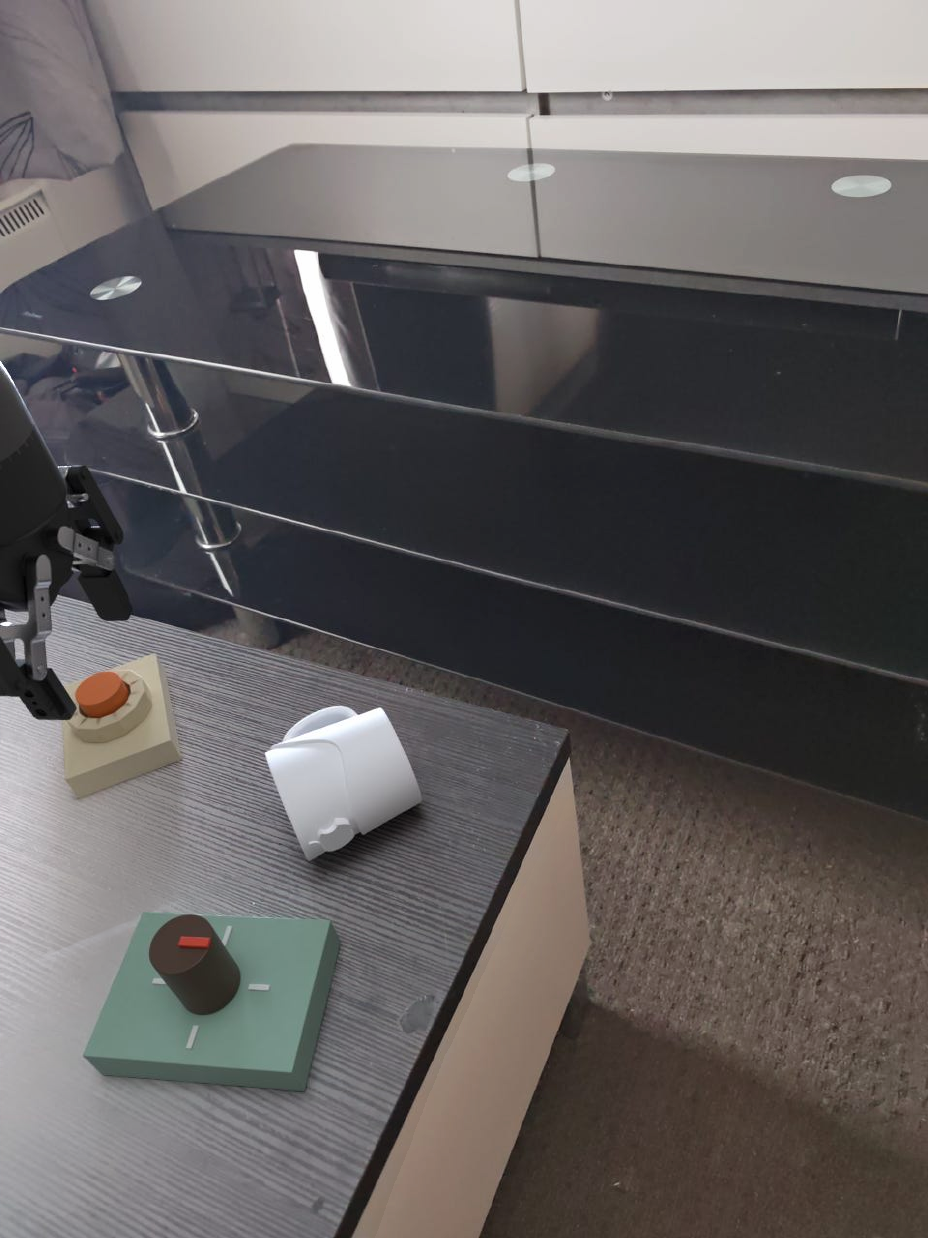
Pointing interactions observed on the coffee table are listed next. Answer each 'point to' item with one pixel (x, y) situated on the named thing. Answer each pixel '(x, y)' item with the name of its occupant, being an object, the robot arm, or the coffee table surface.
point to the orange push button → (101, 694)
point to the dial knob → (194, 964)
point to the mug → (341, 776)
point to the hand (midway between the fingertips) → (90, 664)
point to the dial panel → (239, 1032)
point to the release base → (122, 732)
